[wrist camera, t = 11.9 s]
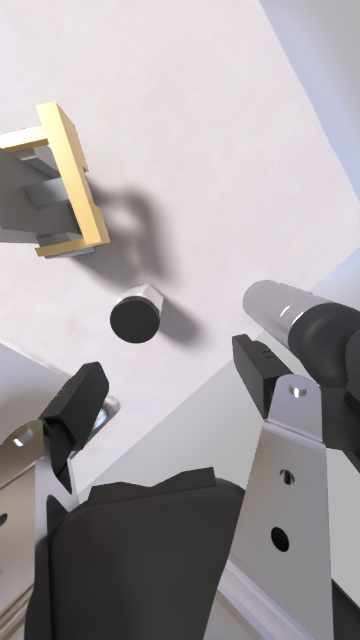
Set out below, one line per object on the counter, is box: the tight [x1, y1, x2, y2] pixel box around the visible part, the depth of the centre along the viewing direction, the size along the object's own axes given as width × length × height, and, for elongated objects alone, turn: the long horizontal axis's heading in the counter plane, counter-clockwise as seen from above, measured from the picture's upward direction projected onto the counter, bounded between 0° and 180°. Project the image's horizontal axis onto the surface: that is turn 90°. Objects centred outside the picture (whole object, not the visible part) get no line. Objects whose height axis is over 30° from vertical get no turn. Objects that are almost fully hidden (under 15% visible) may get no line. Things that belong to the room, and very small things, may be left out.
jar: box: [110, 284, 164, 343], centre depth 34 cm, size 9×8×12 cm
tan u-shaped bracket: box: [0, 101, 111, 257], centre depth 23 cm, size 11×14×4 cm
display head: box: [0, 128, 95, 259], centre depth 25 cm, size 14×15×17 cm
